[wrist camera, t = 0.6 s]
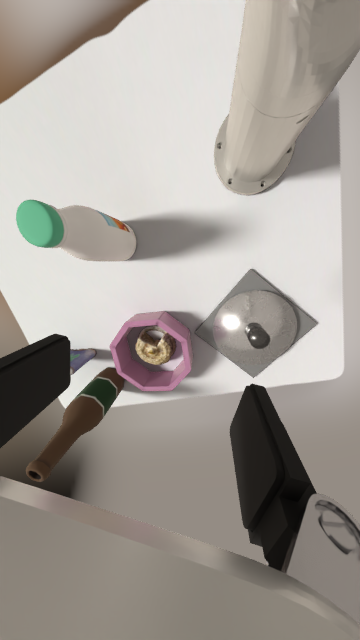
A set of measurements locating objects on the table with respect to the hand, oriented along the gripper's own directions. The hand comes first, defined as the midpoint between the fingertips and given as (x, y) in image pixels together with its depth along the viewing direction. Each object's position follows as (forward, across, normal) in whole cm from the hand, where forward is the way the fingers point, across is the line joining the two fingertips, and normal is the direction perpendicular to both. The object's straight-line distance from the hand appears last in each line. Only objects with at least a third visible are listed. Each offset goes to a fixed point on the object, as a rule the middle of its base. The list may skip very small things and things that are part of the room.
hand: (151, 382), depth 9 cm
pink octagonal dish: (+32, +6, +15) cm, 36 cm away
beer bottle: (+32, +17, +29) cm, 46 cm away
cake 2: (+32, +6, +15) cm, 36 cm away
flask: (+32, +26, +23) cm, 47 cm away
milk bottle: (+31, +18, -7) cm, 37 cm away
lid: (+31, -14, +5) cm, 34 cm away
